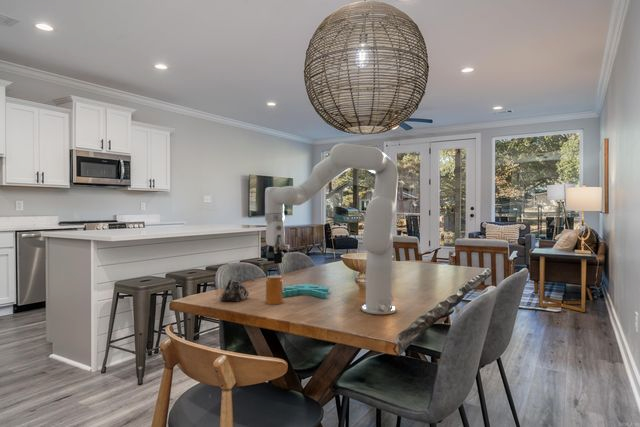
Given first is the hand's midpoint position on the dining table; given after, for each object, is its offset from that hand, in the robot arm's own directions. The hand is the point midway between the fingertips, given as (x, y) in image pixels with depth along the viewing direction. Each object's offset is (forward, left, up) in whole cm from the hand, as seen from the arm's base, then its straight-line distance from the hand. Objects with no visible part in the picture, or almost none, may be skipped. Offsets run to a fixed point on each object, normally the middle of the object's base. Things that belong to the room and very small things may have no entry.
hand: (274, 261), depth 165 cm
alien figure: (+15, -17, -17) cm, 28 cm away
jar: (0, 0, -16) cm, 16 cm away
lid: (0, 0, +3) cm, 3 cm away
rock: (+9, +15, -17) cm, 24 cm away
